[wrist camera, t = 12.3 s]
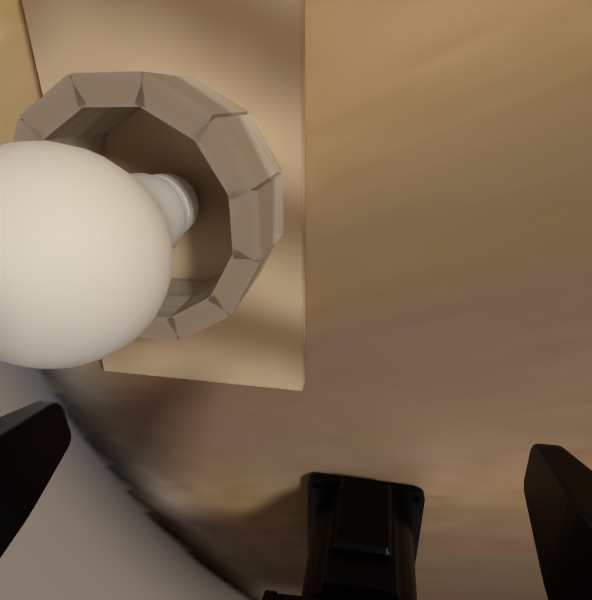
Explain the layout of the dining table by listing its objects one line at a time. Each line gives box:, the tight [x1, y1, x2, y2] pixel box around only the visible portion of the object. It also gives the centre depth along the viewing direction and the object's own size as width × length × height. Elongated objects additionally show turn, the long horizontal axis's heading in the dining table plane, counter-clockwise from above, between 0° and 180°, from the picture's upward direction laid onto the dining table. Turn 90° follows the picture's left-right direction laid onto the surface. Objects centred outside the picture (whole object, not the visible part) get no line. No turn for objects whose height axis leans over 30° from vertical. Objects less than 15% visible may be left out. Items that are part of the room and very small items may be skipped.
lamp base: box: [13, 0, 305, 391], centre depth 18 cm, size 19×11×5 cm, turn 0°
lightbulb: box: [0, 140, 199, 369], centre depth 14 cm, size 6×6×11 cm
